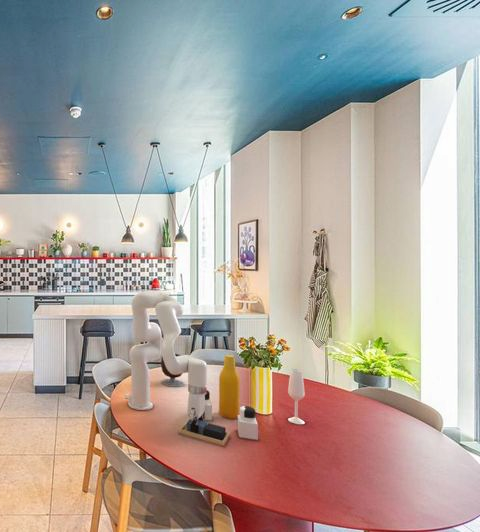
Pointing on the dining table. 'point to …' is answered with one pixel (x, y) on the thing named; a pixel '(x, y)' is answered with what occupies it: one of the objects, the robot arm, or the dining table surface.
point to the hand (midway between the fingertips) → (196, 429)
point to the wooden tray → (184, 431)
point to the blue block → (200, 426)
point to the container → (207, 407)
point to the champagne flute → (296, 392)
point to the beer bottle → (229, 389)
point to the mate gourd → (171, 381)
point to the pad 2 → (215, 431)
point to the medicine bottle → (247, 423)
